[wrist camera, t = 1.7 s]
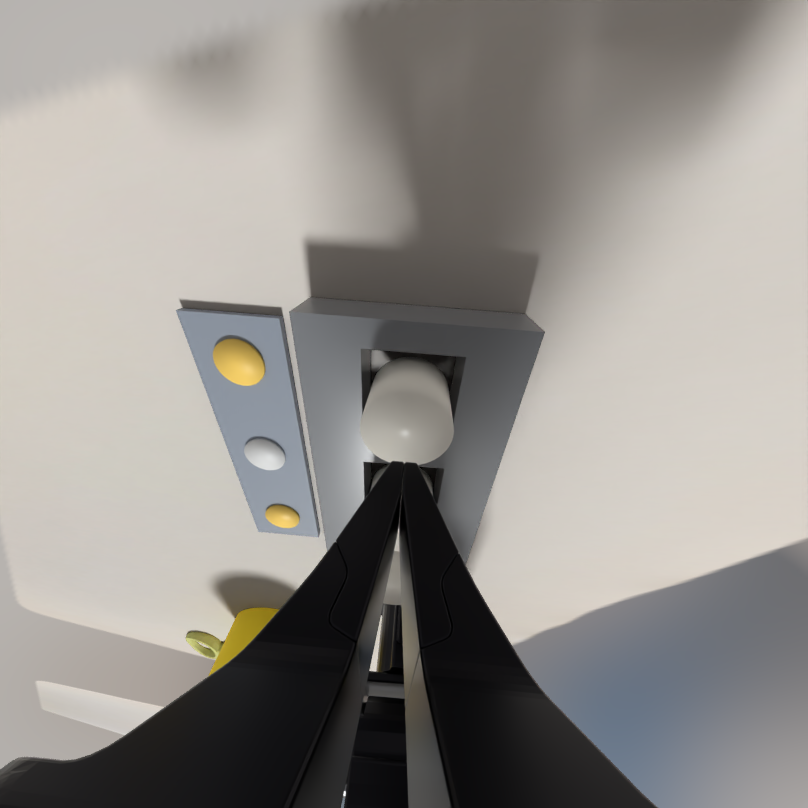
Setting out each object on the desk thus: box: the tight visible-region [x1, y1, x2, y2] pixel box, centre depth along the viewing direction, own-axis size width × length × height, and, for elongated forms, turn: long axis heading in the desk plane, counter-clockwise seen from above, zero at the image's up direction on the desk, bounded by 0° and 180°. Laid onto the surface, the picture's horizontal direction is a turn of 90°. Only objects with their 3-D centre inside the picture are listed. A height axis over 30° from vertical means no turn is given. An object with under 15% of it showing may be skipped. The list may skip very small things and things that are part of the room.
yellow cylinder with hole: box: [209, 608, 279, 676], centre depth 31 cm, size 10×10×9 cm
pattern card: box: [176, 308, 320, 537], centre depth 19 cm, size 18×5×1 cm, turn 176°
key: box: [186, 632, 224, 659], centre depth 39 cm, size 7×12×2 cm, turn 102°
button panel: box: [289, 297, 545, 565], centre depth 18 cm, size 20×10×2 cm, turn 176°
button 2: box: [383, 551, 401, 605], centre depth 19 cm, size 4×4×3 cm
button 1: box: [360, 357, 454, 465], centre depth 12 cm, size 4×4×3 cm
